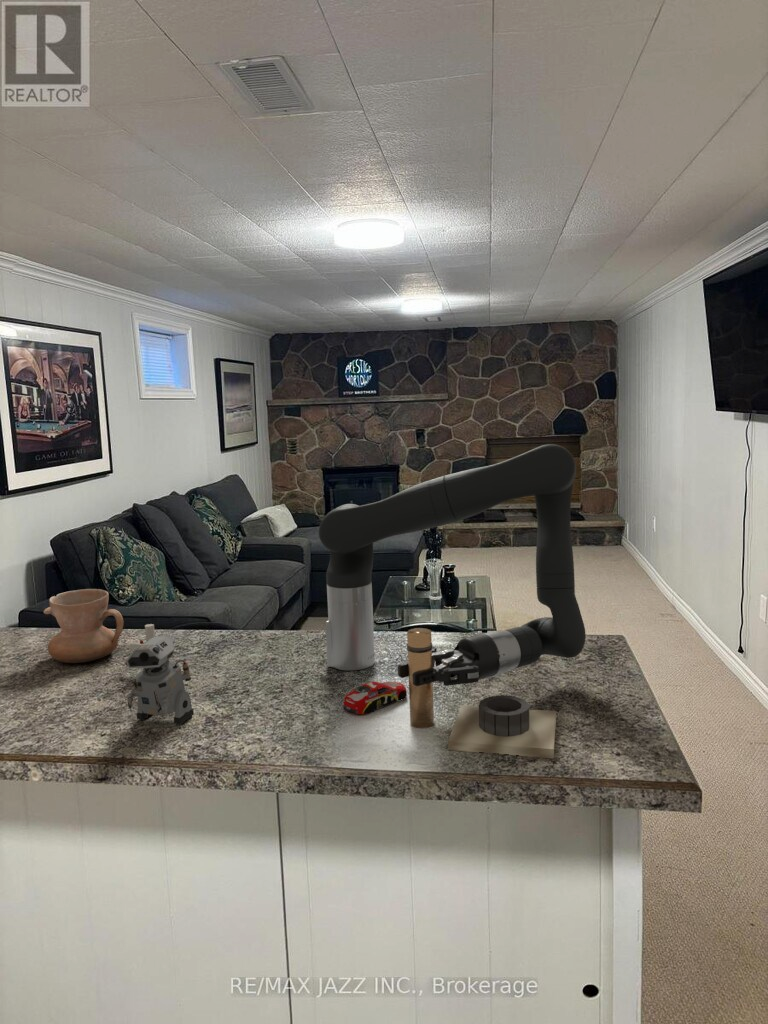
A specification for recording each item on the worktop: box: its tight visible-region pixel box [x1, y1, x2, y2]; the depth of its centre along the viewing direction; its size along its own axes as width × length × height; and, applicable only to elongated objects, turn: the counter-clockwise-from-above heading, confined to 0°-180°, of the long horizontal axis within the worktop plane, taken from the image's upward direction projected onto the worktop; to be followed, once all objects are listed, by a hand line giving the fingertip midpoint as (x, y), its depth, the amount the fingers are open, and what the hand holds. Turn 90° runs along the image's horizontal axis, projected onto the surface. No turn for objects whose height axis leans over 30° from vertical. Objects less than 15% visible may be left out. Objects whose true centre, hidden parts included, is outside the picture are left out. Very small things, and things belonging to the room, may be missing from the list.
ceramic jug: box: [43, 588, 124, 664], centre depth 167 cm, size 18×14×14 cm
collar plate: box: [447, 694, 557, 760], centre depth 122 cm, size 16×14×5 cm
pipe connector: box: [128, 623, 156, 655], centre depth 156 cm, size 10×10×10 cm
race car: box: [342, 681, 408, 715], centre depth 137 cm, size 13×5×4 cm, turn 132°
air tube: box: [406, 627, 435, 729], centre depth 126 cm, size 4×4×16 cm
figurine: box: [124, 634, 195, 726], centre depth 130 cm, size 9×12×15 cm
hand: (406, 675), depth 125 cm, fingers closed on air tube, 4 cm apart
